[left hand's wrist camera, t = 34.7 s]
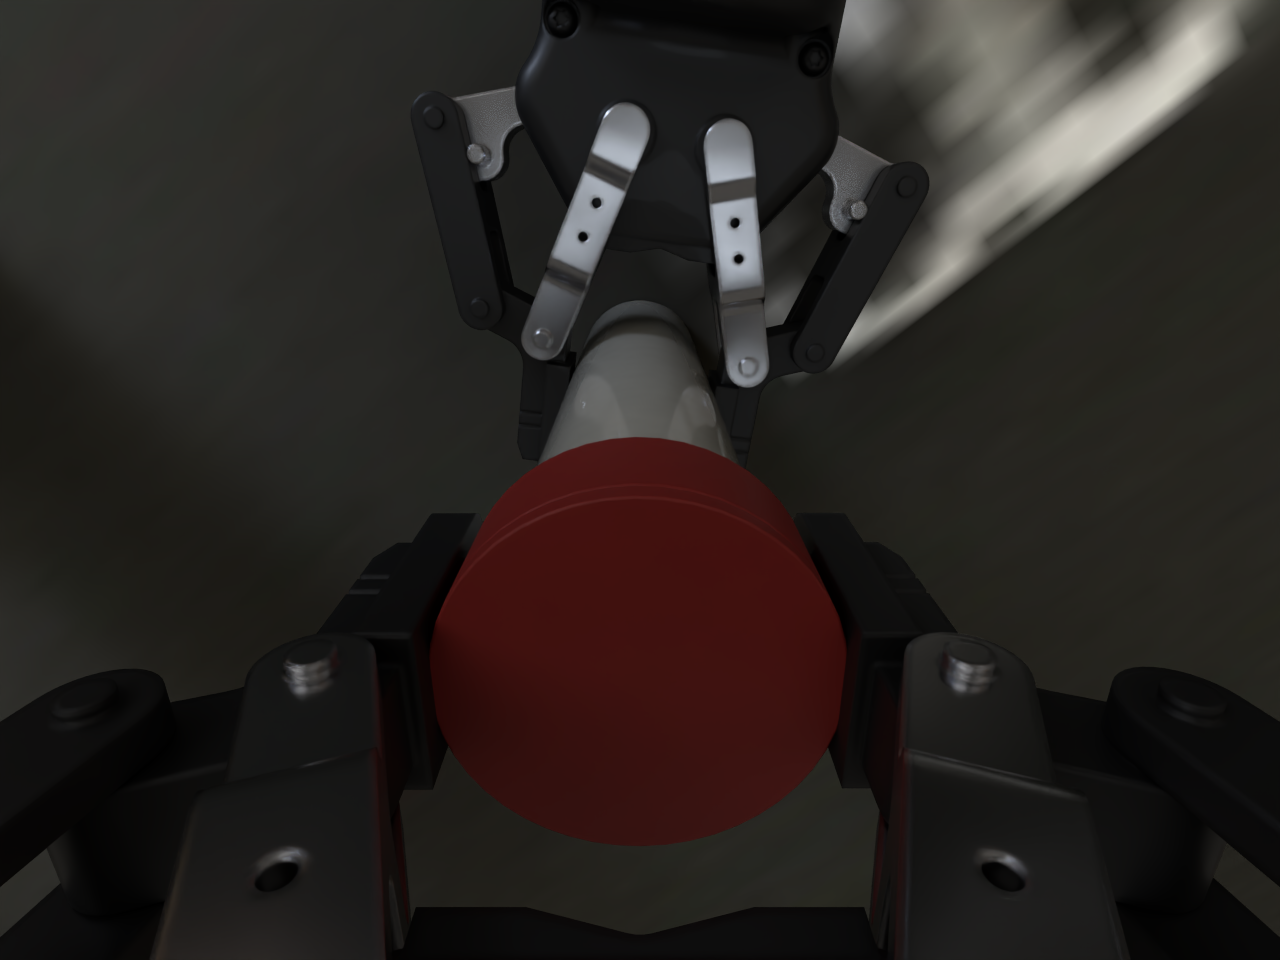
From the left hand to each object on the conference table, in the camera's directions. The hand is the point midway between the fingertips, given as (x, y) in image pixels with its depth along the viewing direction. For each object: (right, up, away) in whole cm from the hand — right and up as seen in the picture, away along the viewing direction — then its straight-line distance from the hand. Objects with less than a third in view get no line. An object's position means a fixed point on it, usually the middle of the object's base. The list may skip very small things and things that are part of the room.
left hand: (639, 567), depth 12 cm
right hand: (0, +1, +11) cm, 11 cm away
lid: (0, -1, -3) cm, 3 cm away
